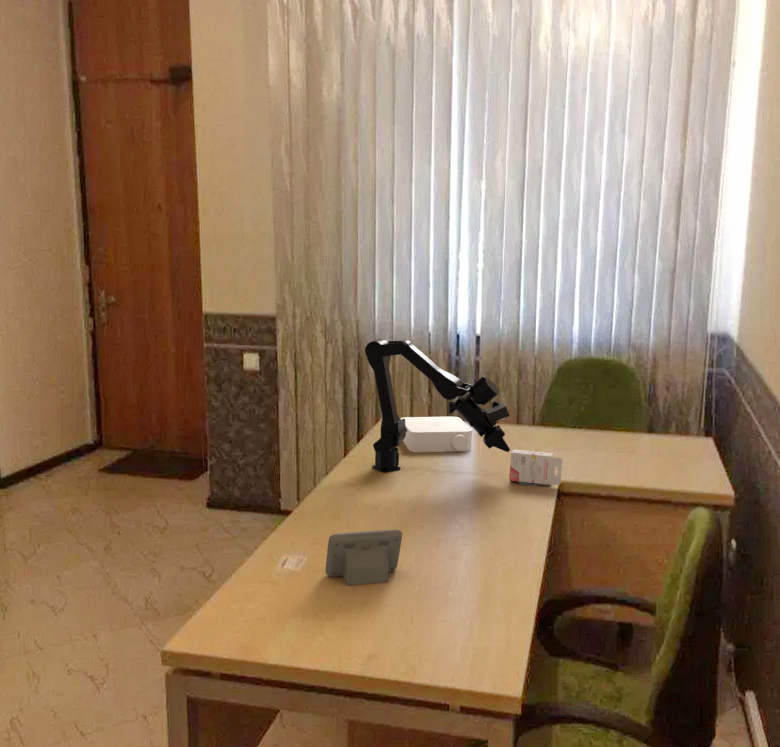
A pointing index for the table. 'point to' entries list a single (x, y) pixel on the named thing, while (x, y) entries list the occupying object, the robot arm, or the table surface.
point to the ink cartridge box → (535, 467)
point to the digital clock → (363, 555)
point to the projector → (437, 434)
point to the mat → (529, 483)
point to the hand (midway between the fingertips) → (508, 450)
